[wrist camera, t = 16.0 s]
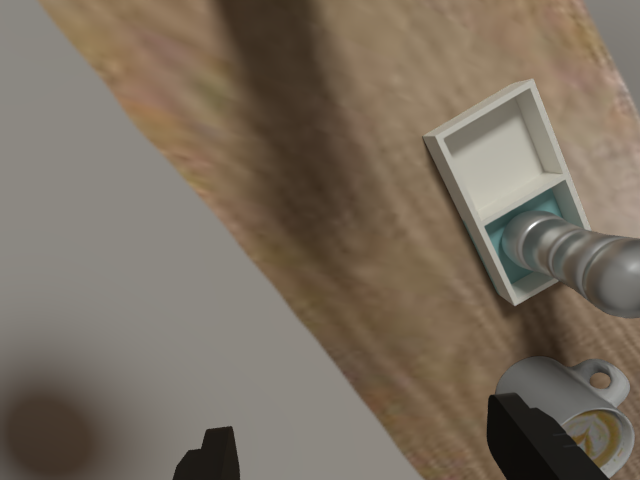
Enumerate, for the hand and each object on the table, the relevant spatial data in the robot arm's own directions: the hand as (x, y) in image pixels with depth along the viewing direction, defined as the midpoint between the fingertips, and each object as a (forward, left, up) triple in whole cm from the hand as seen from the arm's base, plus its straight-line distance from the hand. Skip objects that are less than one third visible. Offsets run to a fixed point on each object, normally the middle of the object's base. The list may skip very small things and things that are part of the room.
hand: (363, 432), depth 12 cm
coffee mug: (+34, +16, -32) cm, 49 cm away
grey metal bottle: (+14, +21, -32) cm, 40 cm away
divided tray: (+9, +21, -32) cm, 39 cm away
